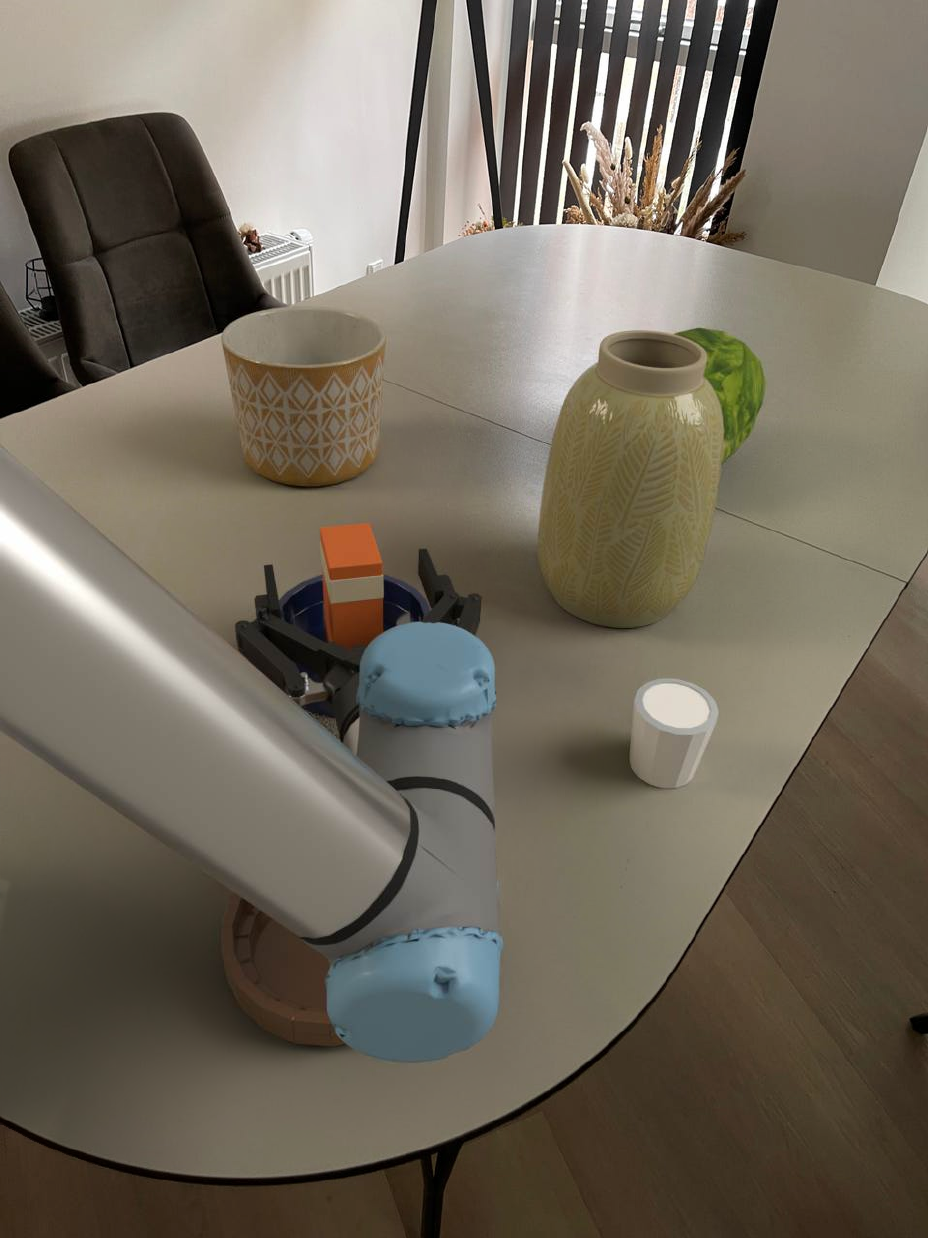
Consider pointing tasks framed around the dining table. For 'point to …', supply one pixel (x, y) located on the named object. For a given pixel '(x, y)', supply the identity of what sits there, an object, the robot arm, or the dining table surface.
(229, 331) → the planter
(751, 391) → the lettuce
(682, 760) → the white cylinder
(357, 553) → the packet
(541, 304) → the dining table surface
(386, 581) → the pot
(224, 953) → the bowl
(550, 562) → the vase
